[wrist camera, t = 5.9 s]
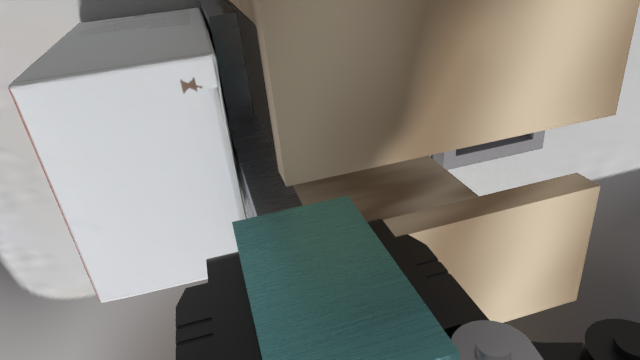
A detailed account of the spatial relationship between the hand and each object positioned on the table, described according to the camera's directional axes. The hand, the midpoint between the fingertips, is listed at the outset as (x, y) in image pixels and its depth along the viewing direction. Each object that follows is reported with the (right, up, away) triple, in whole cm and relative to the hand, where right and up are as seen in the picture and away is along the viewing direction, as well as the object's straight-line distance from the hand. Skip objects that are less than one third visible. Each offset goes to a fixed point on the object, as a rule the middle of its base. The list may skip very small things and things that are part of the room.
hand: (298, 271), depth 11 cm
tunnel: (+1, +8, +15) cm, 17 cm away
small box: (-8, +6, +13) cm, 16 cm away
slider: (-4, +7, +14) cm, 16 cm away
